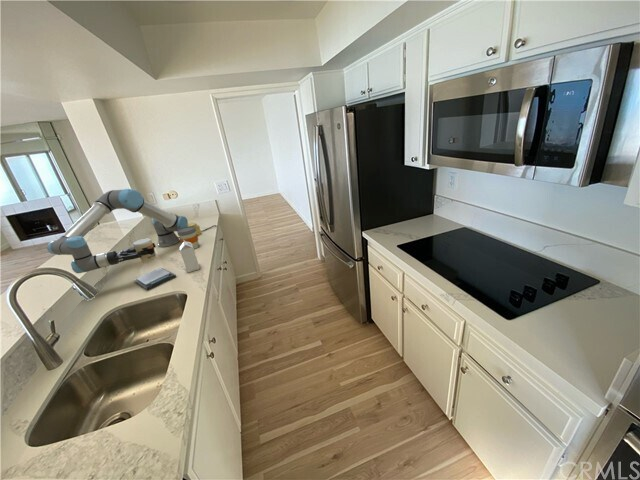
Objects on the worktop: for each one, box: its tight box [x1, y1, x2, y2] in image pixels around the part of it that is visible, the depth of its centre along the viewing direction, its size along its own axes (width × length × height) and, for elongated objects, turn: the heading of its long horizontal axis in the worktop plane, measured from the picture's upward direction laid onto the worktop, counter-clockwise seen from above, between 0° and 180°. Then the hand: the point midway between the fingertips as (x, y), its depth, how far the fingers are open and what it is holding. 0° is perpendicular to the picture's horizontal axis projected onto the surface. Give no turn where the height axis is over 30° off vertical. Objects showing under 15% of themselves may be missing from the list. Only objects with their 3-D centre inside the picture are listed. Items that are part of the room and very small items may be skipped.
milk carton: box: [179, 241, 201, 273], centre depth 161 cm, size 7×7×19 cm
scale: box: [134, 267, 177, 292], centre depth 157 cm, size 16×18×3 cm
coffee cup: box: [132, 237, 158, 264], centre depth 154 cm, size 9×9×12 cm
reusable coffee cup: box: [176, 226, 199, 250], centre depth 196 cm, size 13×13×15 cm
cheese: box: [188, 222, 203, 236], centre depth 221 cm, size 10×11×10 cm
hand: (154, 247), depth 155 cm, fingers closed on coffee cup, 8 cm apart
